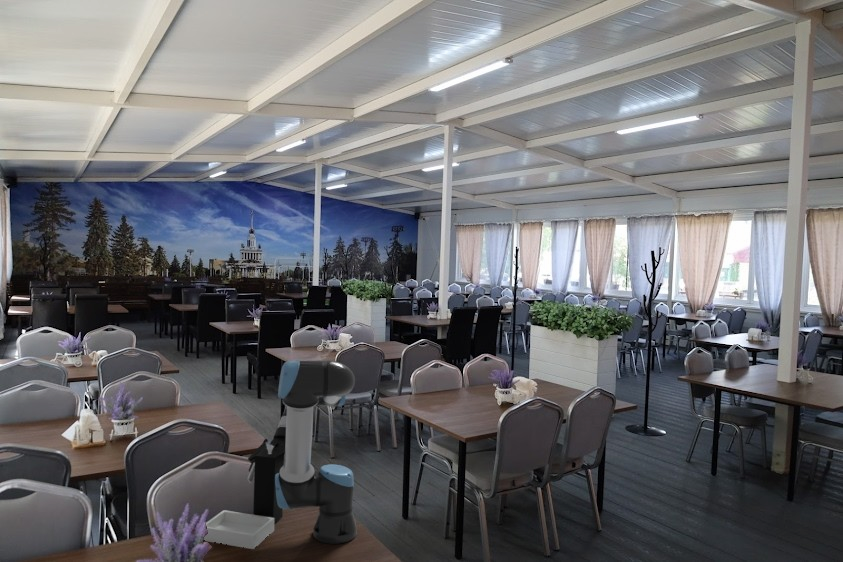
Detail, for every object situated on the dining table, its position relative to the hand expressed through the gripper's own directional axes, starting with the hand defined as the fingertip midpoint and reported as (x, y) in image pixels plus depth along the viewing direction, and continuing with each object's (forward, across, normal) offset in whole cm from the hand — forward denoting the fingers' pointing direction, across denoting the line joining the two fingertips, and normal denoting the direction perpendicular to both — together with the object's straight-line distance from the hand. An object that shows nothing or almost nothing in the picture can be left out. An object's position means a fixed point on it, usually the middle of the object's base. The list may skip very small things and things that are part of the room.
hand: (266, 483), depth 213 cm
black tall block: (+9, 0, -12) cm, 15 cm away
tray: (+18, +4, -2) cm, 19 cm away
